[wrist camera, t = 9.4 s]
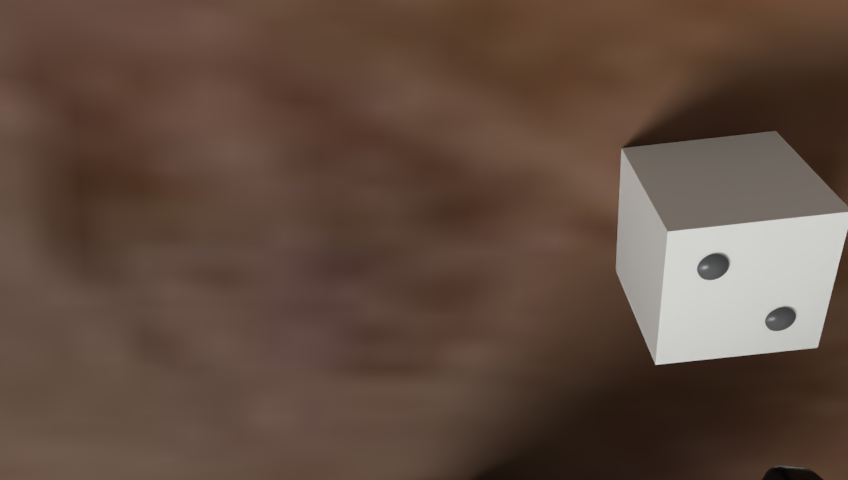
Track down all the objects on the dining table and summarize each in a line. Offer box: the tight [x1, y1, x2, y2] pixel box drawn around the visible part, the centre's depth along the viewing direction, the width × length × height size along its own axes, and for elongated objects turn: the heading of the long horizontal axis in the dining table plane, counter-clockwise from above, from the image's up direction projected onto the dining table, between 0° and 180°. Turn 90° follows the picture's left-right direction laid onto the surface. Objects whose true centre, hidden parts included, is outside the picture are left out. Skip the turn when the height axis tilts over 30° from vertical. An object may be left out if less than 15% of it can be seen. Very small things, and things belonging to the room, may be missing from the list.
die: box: [616, 131, 848, 365], centre depth 19 cm, size 4×4×4 cm
